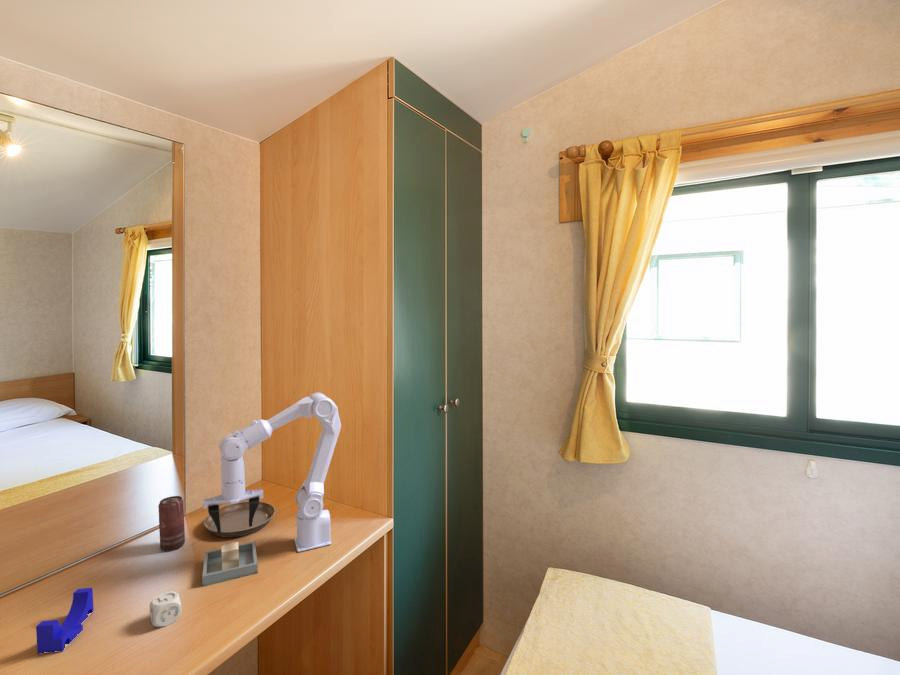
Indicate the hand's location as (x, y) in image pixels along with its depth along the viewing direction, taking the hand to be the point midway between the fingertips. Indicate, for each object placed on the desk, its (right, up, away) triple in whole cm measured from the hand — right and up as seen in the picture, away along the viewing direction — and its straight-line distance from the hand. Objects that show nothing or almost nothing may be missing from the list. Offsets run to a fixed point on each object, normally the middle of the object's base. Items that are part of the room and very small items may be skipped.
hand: (235, 528), depth 120 cm
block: (0, -9, -2) cm, 9 cm away
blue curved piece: (-23, -11, -26) cm, 36 cm away
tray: (0, -10, -2) cm, 10 cm away
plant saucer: (-9, -9, +22) cm, 25 cm away
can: (-22, -9, +8) cm, 25 cm away
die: (-5, -11, -22) cm, 25 cm away
